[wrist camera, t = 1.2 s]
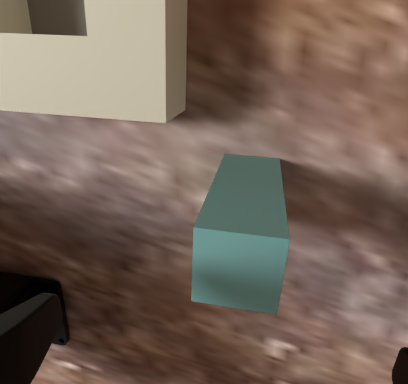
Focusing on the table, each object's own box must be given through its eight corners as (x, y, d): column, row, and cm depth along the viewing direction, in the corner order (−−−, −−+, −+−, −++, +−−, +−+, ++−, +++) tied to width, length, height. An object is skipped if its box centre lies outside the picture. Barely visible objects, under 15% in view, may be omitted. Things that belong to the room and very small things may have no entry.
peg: (272, 208, 20) (277, 314, 12) (221, 202, 20) (191, 301, 12) (279, 158, 19) (289, 239, 10) (224, 153, 19) (193, 227, 11)
